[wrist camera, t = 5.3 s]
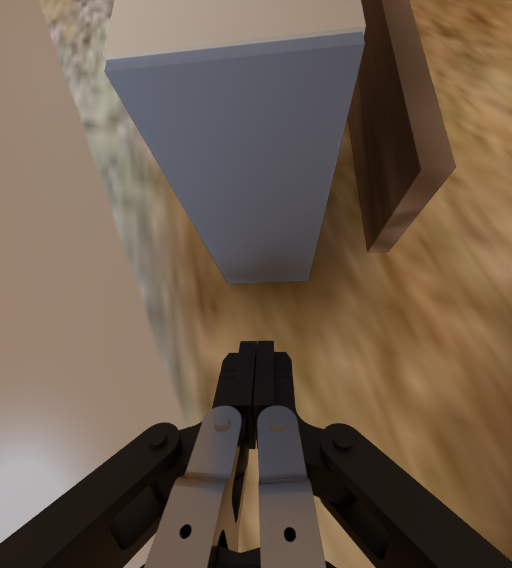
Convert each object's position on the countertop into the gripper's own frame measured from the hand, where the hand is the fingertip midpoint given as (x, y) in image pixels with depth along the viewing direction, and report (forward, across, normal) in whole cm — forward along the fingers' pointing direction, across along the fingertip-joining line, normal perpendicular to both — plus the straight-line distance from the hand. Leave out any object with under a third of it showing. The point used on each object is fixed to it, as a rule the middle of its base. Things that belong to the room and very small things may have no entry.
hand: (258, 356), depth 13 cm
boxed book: (+14, 0, -4) cm, 15 cm away
